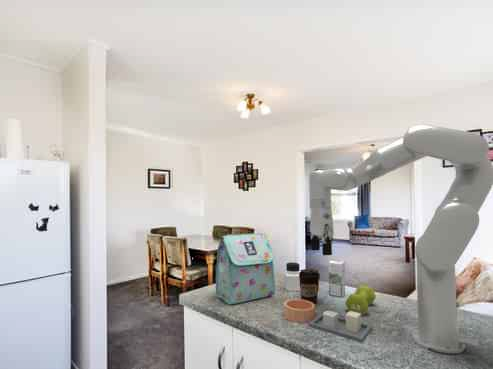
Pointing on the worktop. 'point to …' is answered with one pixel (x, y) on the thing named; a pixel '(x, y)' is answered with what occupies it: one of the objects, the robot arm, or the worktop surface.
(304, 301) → the bowl
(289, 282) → the medicine bottle
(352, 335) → the tray
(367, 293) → the dumbbell
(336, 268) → the clear bottle
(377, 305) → the worktop surface
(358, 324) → the cream cube
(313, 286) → the coffee cup
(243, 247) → the lunch bag
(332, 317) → the grey sharp-edged block
